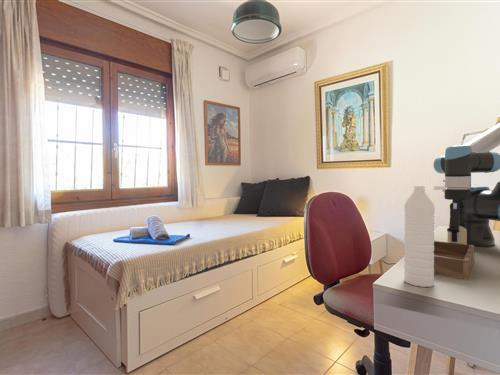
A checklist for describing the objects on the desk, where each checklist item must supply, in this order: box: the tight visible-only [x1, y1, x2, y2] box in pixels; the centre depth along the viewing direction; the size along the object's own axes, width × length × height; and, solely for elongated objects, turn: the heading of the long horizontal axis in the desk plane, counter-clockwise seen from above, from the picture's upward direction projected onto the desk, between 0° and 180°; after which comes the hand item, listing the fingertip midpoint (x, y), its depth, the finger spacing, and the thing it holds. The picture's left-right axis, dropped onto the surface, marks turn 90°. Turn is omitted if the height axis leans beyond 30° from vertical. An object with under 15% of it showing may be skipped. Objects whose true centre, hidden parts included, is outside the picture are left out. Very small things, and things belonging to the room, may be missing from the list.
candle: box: [447, 226, 467, 245], centre depth 97 cm, size 6×6×10 cm
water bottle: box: [403, 185, 447, 288], centre depth 68 cm, size 9×6×25 cm
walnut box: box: [433, 240, 475, 281], centre depth 83 cm, size 23×12×5 cm, turn 137°
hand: (456, 247), depth 98 cm, fingers open, 13 cm apart
